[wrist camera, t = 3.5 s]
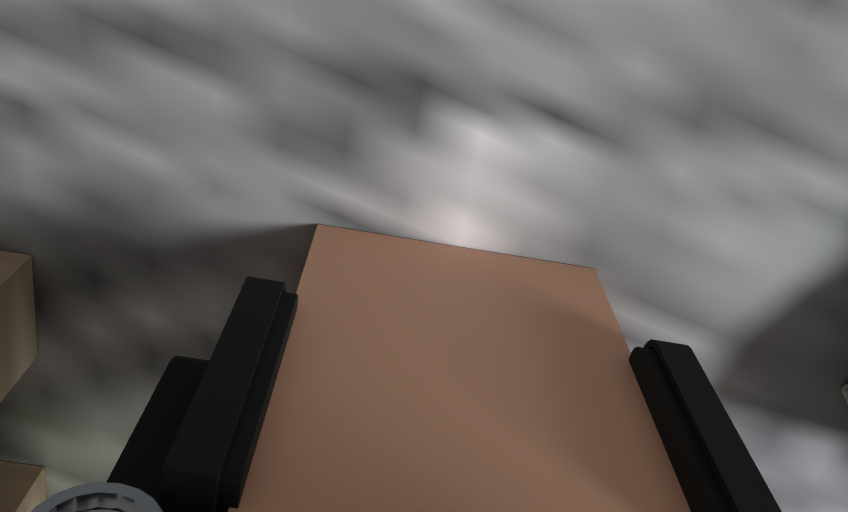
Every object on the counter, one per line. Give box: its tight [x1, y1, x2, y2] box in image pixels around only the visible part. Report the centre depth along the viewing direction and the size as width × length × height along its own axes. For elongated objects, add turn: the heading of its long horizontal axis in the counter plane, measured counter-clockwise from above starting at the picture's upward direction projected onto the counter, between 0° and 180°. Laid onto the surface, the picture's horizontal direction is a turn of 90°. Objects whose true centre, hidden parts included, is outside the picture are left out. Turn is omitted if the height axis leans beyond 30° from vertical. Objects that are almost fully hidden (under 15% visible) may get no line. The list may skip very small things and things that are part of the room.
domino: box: [228, 224, 691, 512], centre depth 9 cm, size 2×5×10 cm, turn 80°
